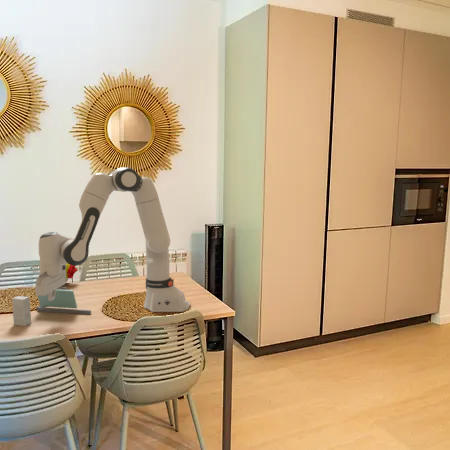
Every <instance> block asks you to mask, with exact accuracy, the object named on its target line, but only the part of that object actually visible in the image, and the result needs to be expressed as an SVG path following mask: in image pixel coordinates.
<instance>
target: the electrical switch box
mask: <svg viewBox="0 0 450 450" xmlns="http://www.w3.org/2000/svg"><path fill="white" fill-rule="evenodd" d="M61 264H64V265H66V269H65V271H66V282H65V284H66V283H67V282H68V280H69V279H73V278H74V275H75V273H76V272H78V268H77V267H76V266H73V265H70V264H68V263H67V262H66V261H65V259H64V260H61ZM61 287H62V286H60V287H59V288H61ZM59 288H58V289H59Z"/></svg>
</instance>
